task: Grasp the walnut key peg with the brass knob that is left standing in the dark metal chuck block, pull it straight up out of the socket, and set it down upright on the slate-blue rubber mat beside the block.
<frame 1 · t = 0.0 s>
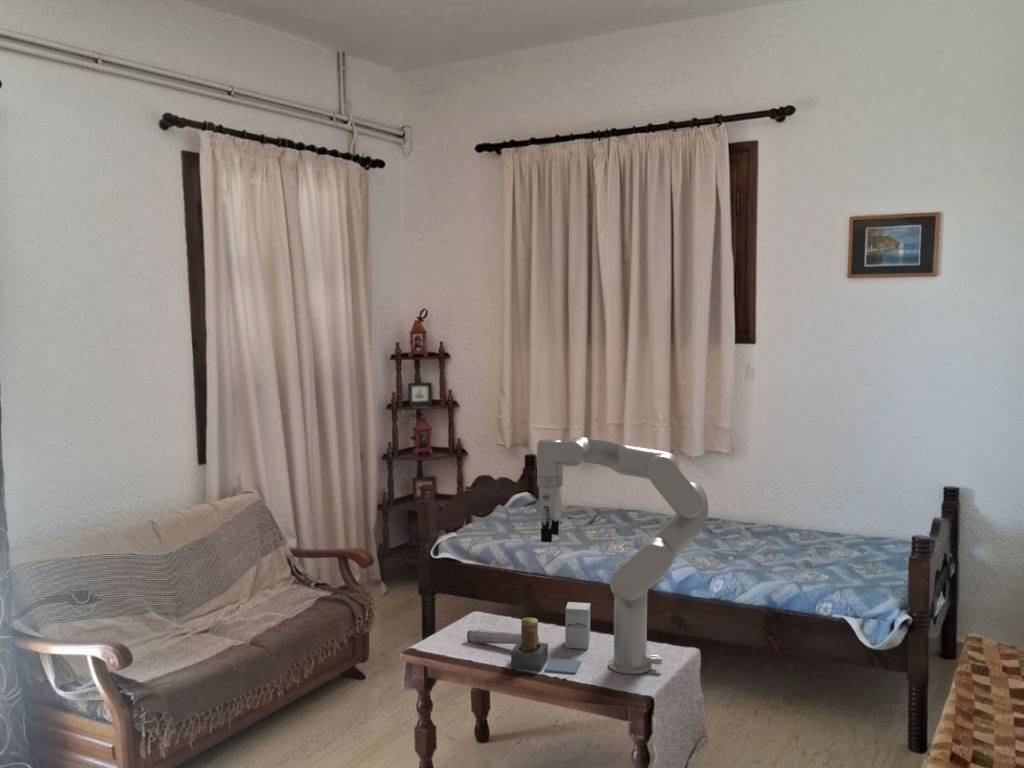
hand: (549, 538, 259), 37 cm above the table, tool pointing down, fingers open, 9 cm apart
rubber mat: (563, 667, 255), on the table
chuck block: (529, 663, 258), on the table
key peg: (529, 664, 258), resting in chuck block
supplement box: (577, 645, 273), on the table
grey wand device: (504, 648, 271), on the table
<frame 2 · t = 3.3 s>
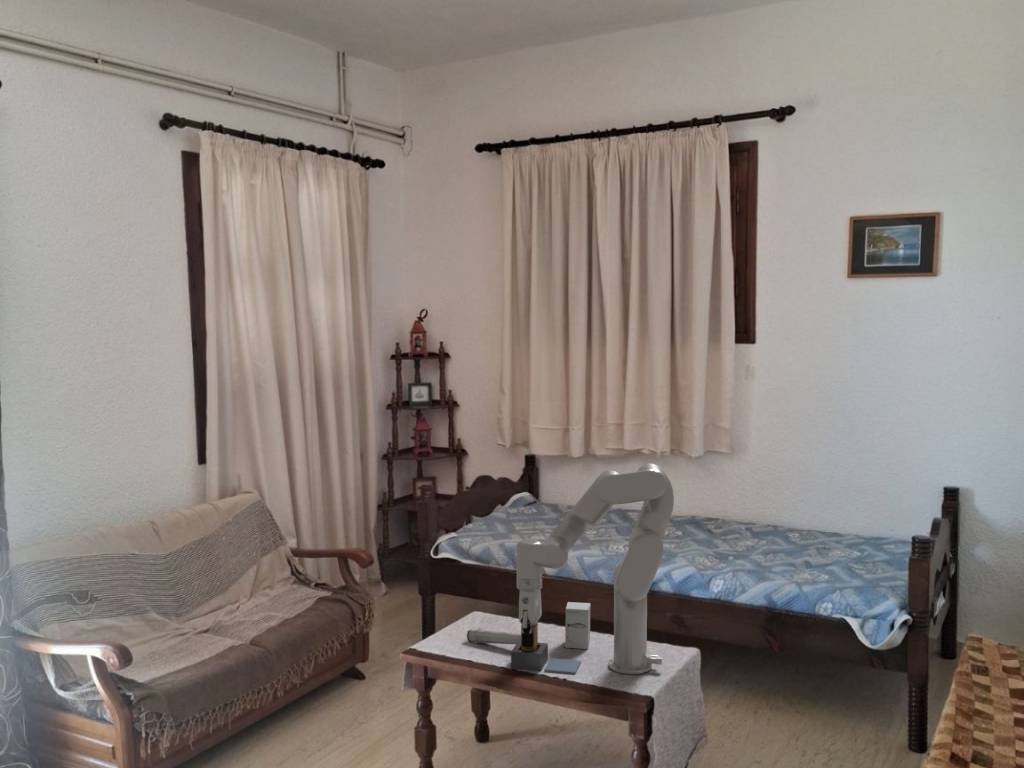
hand: (529, 643, 257), 6 cm above the table, tool pointing down, fingers closed on key peg, 4 cm apart
key peg: (529, 664, 258), resting in chuck block, touching gripper
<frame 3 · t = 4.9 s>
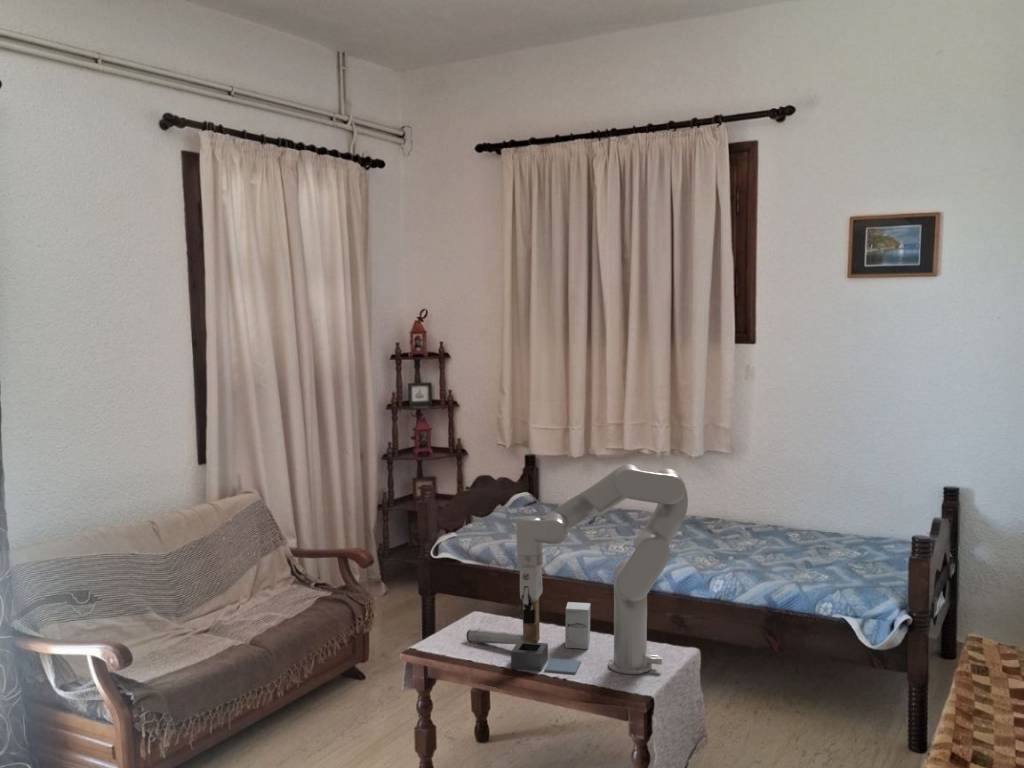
hand: (531, 619, 257), 13 cm above the table, tool pointing down, fingers closed on key peg, 4 cm apart
key peg: (531, 640, 257), point 7 cm above the table, touching gripper
everything else where it was.
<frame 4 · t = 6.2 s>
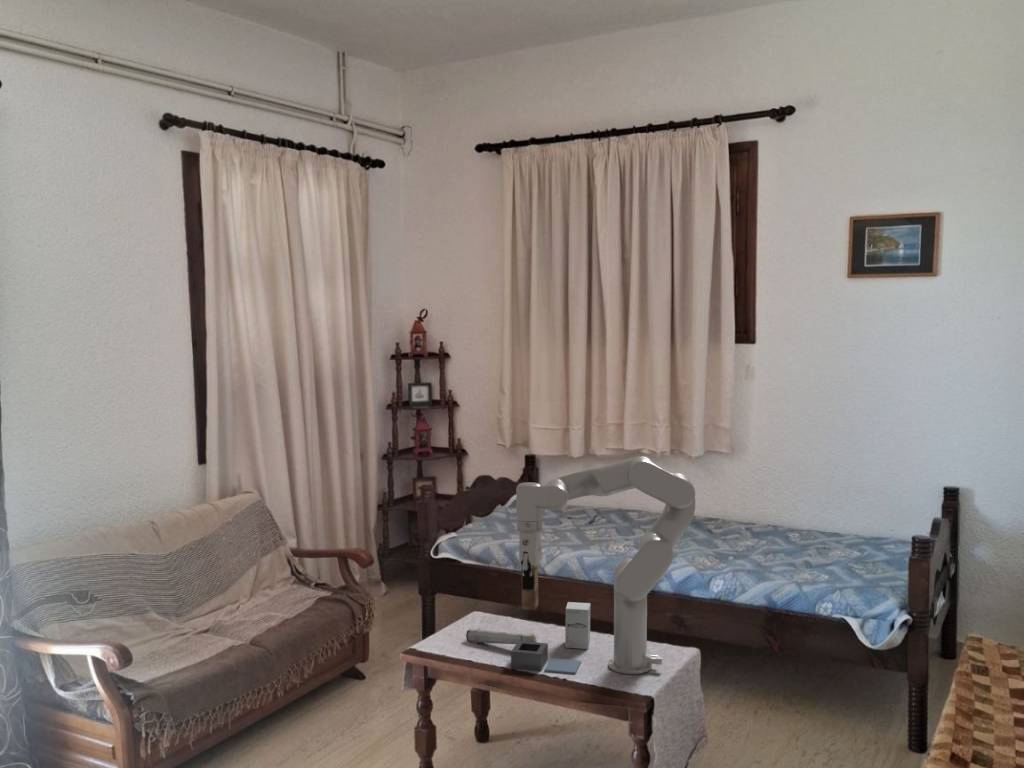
hand: (530, 586, 256), 23 cm above the table, tool pointing down, fingers closed on key peg, 4 cm apart
key peg: (530, 607, 257), point 17 cm above the table, touching gripper
everything else where it was.
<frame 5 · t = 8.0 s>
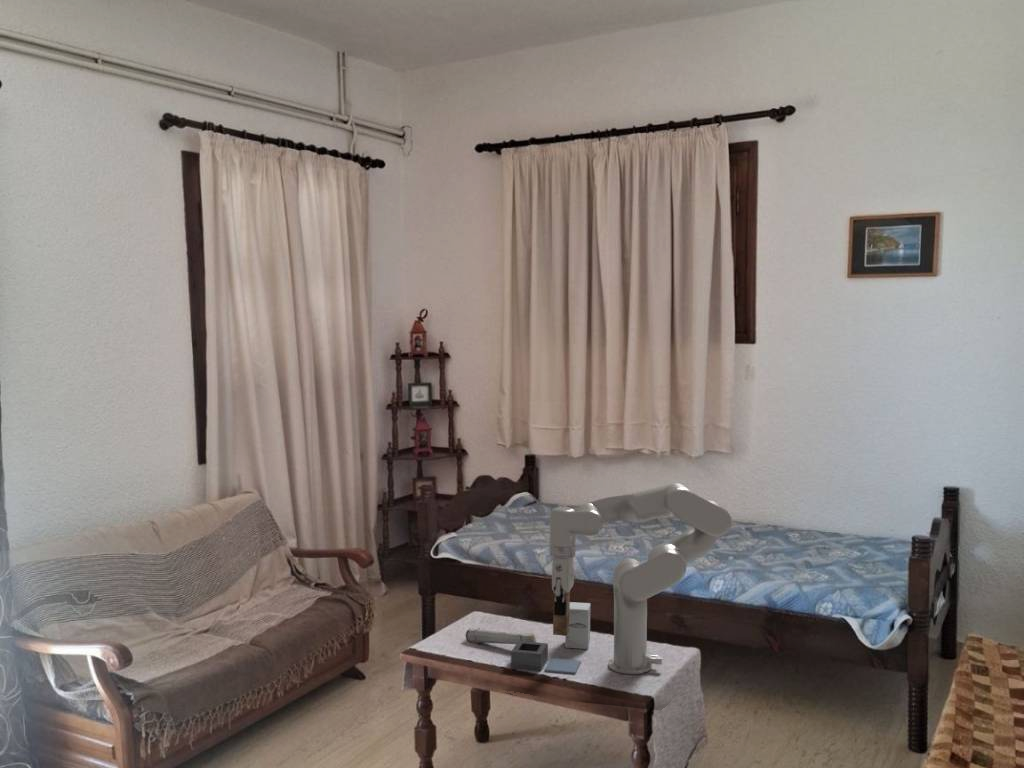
hand: (561, 611, 254), 16 cm above the table, tool pointing down, fingers closed on key peg, 4 cm apart
key peg: (561, 633, 255), point 10 cm above the table, touching gripper
everything else where it was.
when the fingers open (8 cm above the table, at t = 9.5 s): key peg drops 1 cm, resting on rubber mat.
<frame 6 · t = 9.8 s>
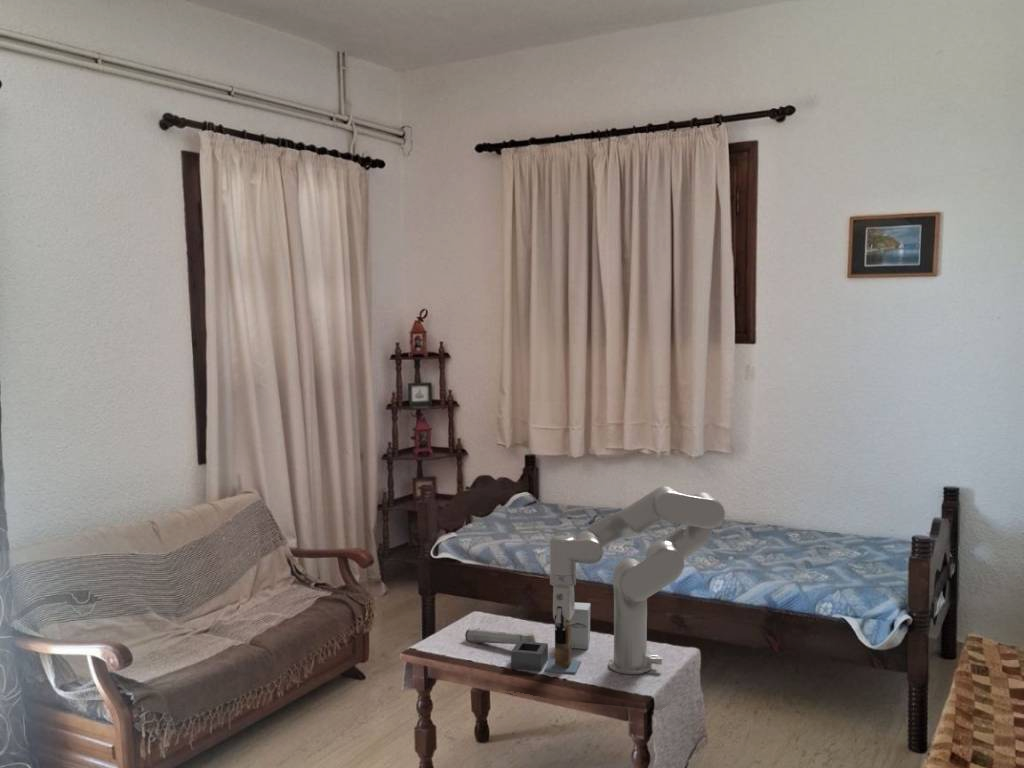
hand: (563, 638, 255), 8 cm above the table, tool pointing down, fingers open, 6 cm apart
key peg: (563, 665, 255), point 1 cm above the table, touching rubber mat
everything else where it was.
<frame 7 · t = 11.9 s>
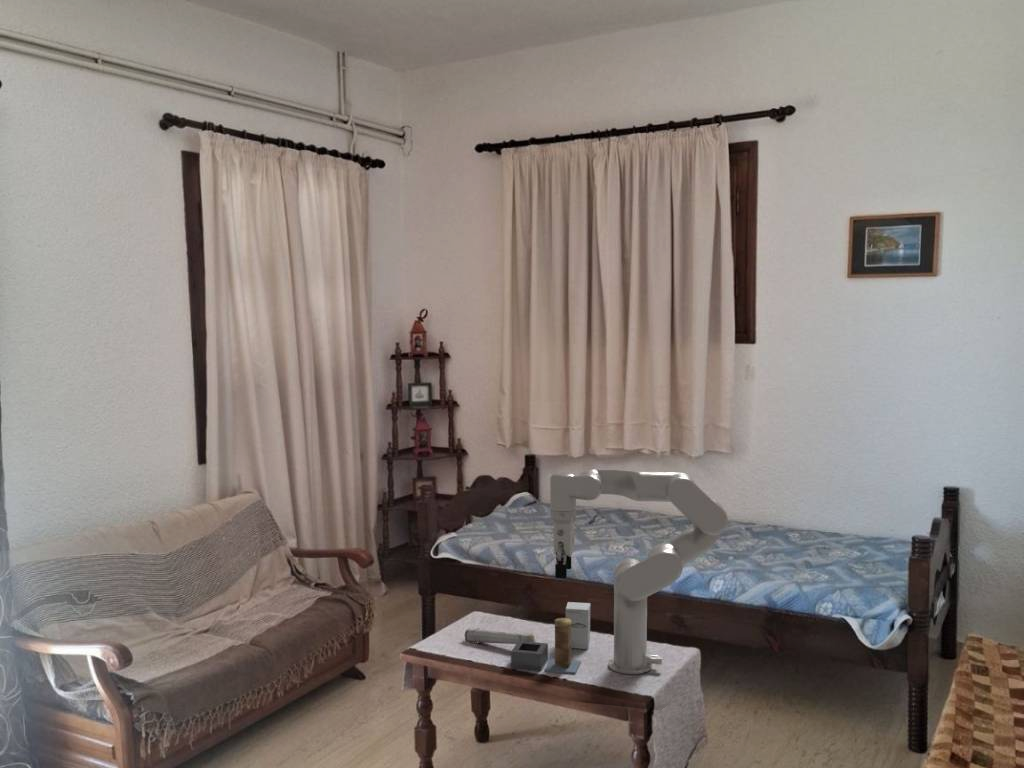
hand: (563, 573, 256), 27 cm above the table, tool pointing down, fingers open, 9 cm apart
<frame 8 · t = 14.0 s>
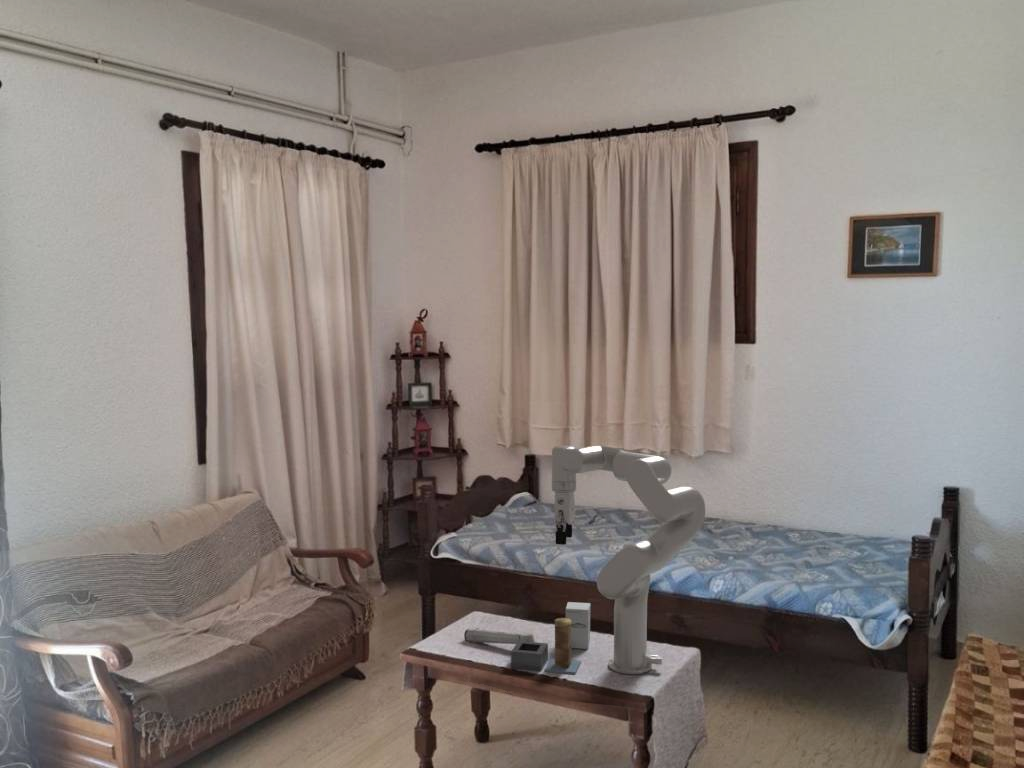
hand: (563, 540, 270), 33 cm above the table, tool pointing down, fingers open, 9 cm apart
at the end: key peg 0.0 cm off-centre on the rubber mat, point 0.6 cm above the rubber mat's base; key peg tilted 0°; the gripper is holding nothing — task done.
